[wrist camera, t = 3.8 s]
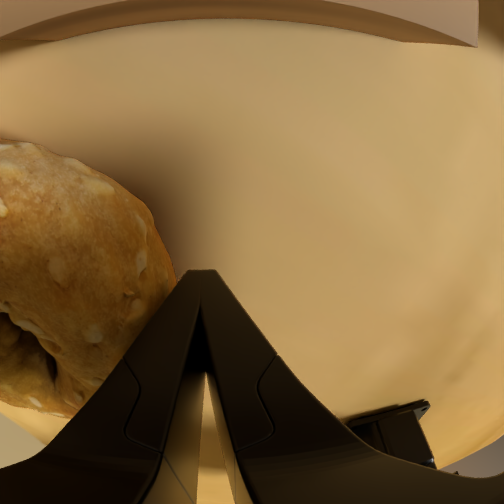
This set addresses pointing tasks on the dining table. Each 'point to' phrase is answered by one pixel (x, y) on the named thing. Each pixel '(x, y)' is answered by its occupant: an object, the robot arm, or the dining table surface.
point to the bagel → (70, 277)
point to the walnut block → (247, 16)
